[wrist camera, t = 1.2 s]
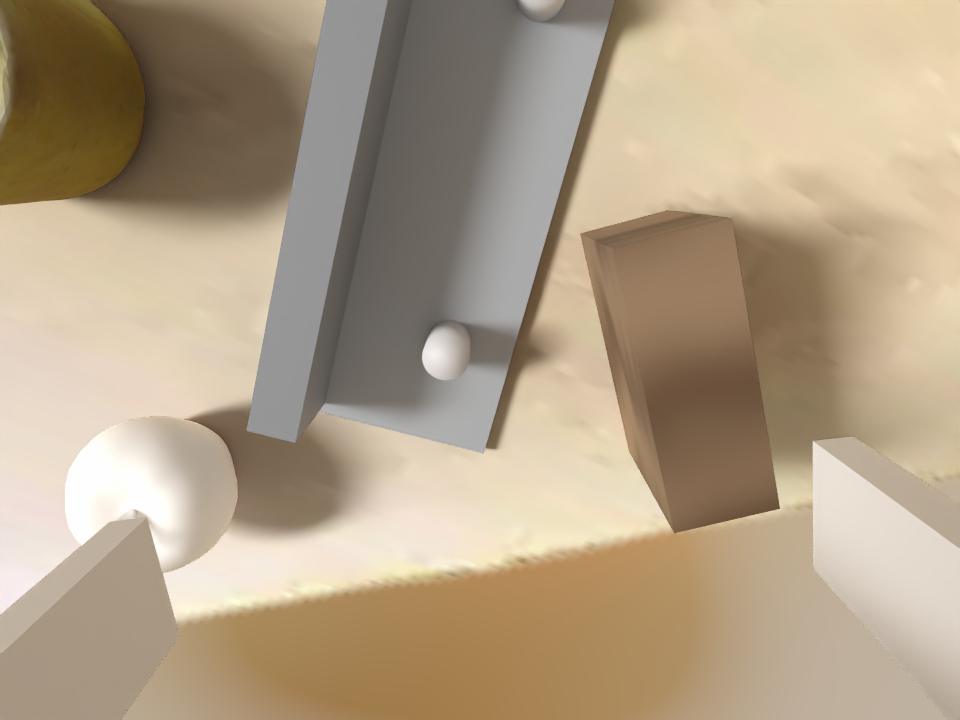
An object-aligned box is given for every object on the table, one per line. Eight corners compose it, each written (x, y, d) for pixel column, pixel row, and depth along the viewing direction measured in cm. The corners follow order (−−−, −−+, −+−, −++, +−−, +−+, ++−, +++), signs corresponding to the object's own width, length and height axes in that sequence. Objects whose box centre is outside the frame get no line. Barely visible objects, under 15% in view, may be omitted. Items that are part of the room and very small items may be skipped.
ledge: (378, -197, 25) (349, -303, 20) (646, -114, 26) (689, -194, 20) (265, 393, 31) (219, 436, 26) (483, 448, 32) (483, 501, 27)
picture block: (580, 233, 30) (613, 249, 22) (671, 209, 29) (738, 216, 21) (628, 450, 32) (674, 533, 24) (712, 430, 32) (785, 507, 24)
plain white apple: (98, 483, 33) (-21, 574, 25) (154, 367, 31) (46, 426, 23) (223, 547, 34) (146, 654, 26) (285, 438, 32) (221, 517, 24)
